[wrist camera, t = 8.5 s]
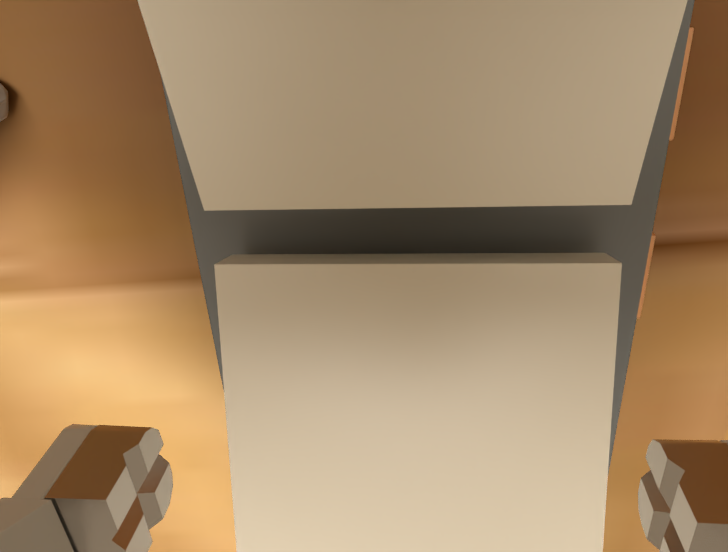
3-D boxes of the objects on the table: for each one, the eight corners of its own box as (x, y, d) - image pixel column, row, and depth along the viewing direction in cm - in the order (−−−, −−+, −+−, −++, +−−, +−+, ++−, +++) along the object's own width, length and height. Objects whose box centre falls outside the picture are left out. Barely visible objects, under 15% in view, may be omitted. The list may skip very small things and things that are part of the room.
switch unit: (171, -237, 18) (38, -340, 12) (692, -290, 16) (849, -442, 10) (272, 406, 29) (229, 523, 23) (586, 414, 27) (631, 543, 21)
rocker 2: (232, 254, 18) (214, 264, 17) (605, 252, 17) (622, 263, 16) (253, 542, 20) (238, 575, 19) (586, 559, 19) (599, 595, 18)
